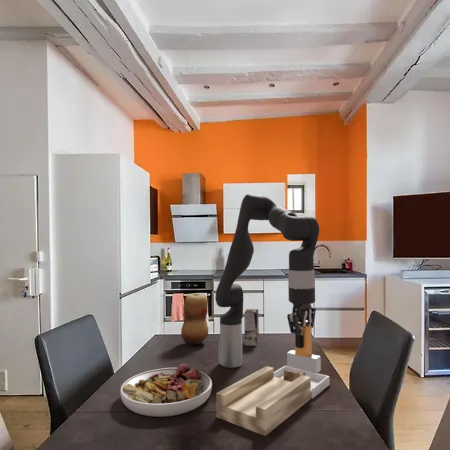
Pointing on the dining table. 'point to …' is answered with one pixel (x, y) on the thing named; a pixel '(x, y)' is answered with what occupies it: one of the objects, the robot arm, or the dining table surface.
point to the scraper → (304, 355)
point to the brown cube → (300, 372)
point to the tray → (317, 380)
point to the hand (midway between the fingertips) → (302, 345)
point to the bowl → (166, 391)
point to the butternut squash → (195, 319)
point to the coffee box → (251, 327)
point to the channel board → (262, 400)
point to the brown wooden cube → (291, 375)
